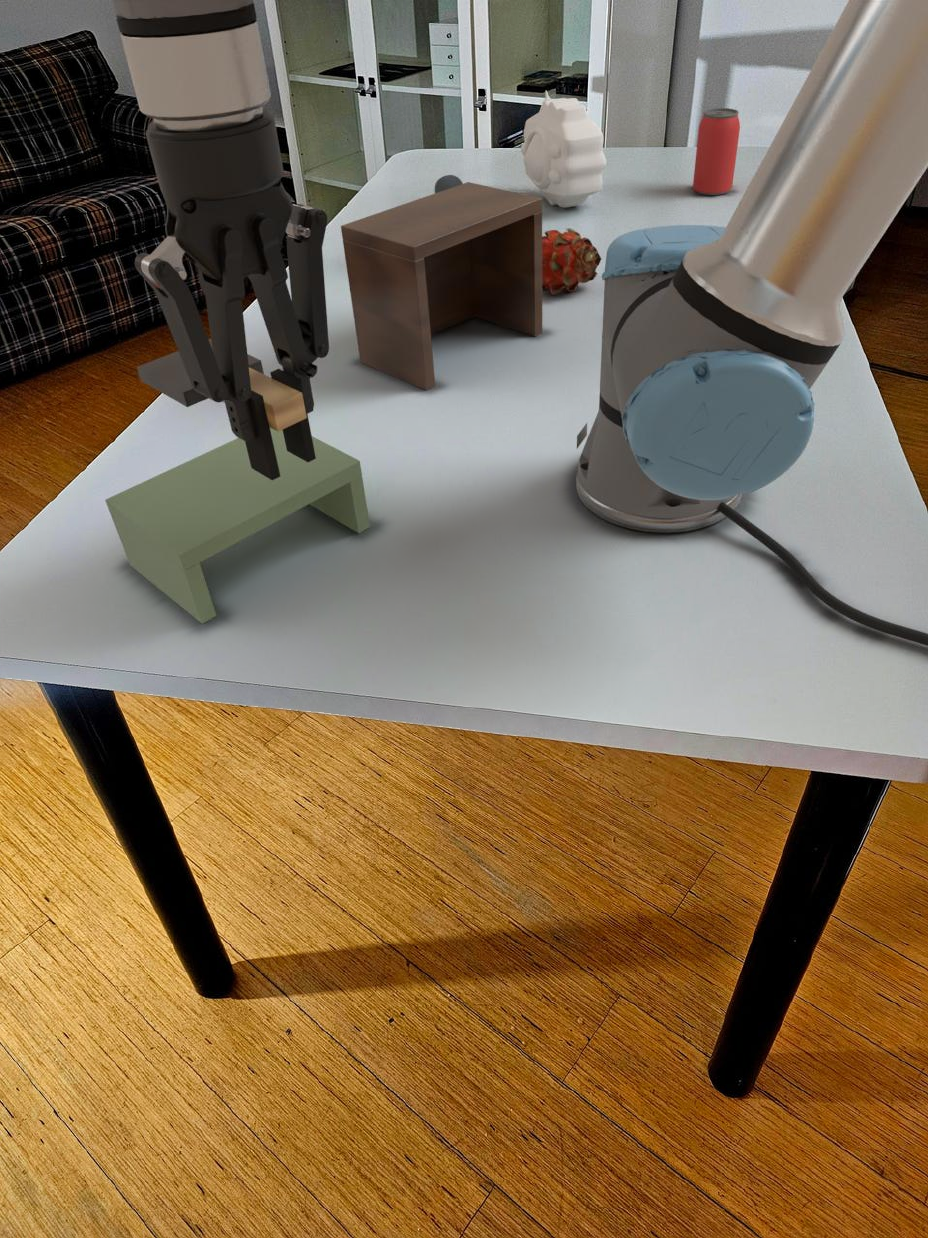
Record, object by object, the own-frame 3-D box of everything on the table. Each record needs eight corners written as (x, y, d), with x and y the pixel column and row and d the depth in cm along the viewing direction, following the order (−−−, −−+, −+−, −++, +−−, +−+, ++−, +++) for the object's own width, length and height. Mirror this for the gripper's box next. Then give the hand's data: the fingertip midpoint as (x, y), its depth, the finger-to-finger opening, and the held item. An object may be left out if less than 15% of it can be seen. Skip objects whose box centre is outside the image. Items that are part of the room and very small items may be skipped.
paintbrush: (518, 220, 146) (517, 187, 143) (494, 228, 144) (493, 195, 141) (445, 197, 158) (443, 167, 155) (423, 204, 156) (420, 173, 153)
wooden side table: (542, 332, 112) (542, 197, 101) (426, 390, 101) (413, 246, 91) (474, 310, 118) (468, 181, 108) (360, 362, 108) (340, 225, 98)
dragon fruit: (605, 303, 121) (520, 314, 125) (606, 249, 123) (522, 261, 127) (597, 266, 113) (506, 278, 117) (597, 208, 115) (508, 222, 119)
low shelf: (370, 527, 81) (360, 460, 77) (202, 624, 72) (179, 555, 68) (292, 482, 88) (278, 418, 84) (130, 565, 79) (104, 499, 74)
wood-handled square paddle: (331, 406, 65) (326, 381, 64) (252, 444, 61) (245, 418, 60) (215, 351, 74) (210, 327, 72) (140, 380, 70) (133, 357, 69)
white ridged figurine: (566, 185, 159) (567, 83, 149) (613, 212, 146) (618, 102, 136) (509, 196, 157) (507, 92, 146) (553, 223, 144) (553, 112, 133)
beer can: (685, 188, 154) (692, 110, 146) (719, 183, 155) (728, 105, 147) (704, 198, 149) (713, 118, 141) (739, 192, 150) (749, 112, 142)
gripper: (279, 83, 58) (334, 410, 73) (53, 134, 50) (167, 489, 65) (352, 94, 54) (393, 439, 69) (117, 152, 46) (223, 527, 61)
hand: (283, 462), depth 67 cm, fingers closed on wood-handled square paddle, 3 cm apart
